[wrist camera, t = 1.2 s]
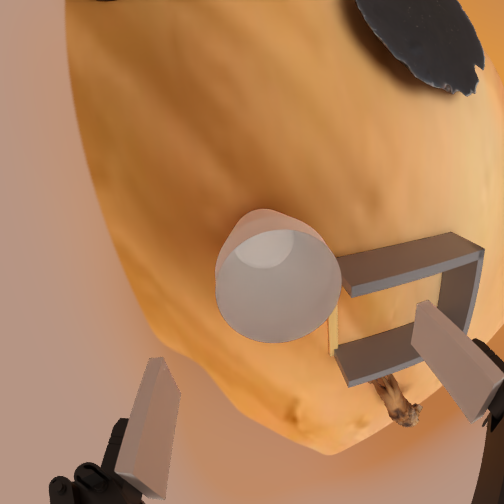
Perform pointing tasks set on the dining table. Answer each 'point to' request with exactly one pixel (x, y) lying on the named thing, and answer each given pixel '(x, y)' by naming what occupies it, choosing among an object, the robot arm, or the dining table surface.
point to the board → (428, 40)
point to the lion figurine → (397, 402)
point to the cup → (275, 278)
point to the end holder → (396, 273)
